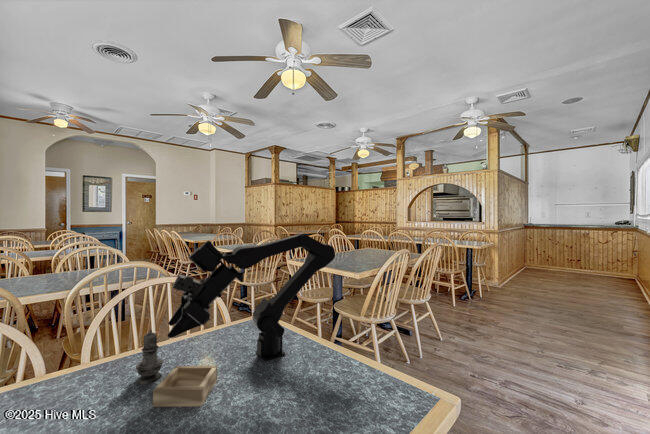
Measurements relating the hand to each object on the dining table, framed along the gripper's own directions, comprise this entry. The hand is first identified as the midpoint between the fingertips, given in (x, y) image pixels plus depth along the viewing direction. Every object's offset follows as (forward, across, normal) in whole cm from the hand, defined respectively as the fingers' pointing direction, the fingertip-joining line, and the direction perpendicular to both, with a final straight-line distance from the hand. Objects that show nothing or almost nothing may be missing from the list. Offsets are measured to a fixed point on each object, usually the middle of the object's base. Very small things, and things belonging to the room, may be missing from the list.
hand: (169, 330), depth 74 cm
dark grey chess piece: (+11, 0, +5) cm, 12 cm away
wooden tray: (+5, +11, +11) cm, 16 cm away
